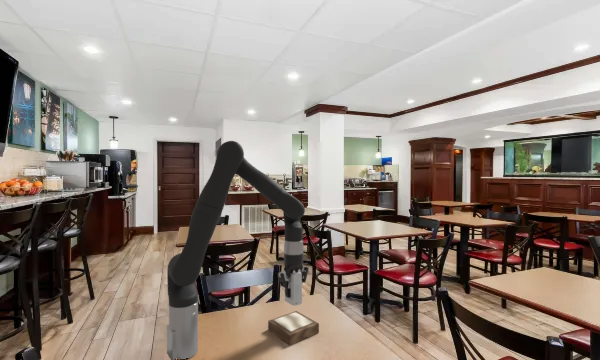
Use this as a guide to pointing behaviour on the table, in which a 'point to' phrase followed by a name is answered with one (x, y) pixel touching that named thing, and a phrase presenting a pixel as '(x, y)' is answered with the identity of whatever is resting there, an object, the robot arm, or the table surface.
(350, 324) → the table surface
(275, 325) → the walnut stand
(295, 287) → the skincare box
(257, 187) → the robot arm
